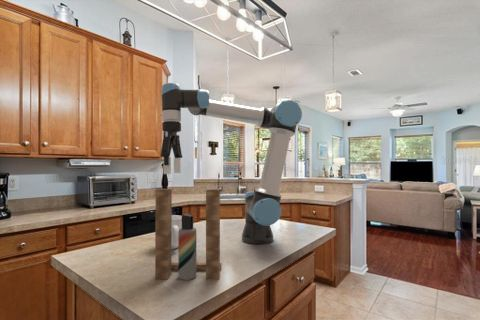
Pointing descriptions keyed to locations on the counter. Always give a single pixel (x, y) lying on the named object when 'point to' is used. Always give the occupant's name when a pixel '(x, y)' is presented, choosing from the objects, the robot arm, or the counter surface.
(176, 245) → the mug
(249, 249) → the counter surface
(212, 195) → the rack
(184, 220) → the lotion bottle
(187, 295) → the counter surface
